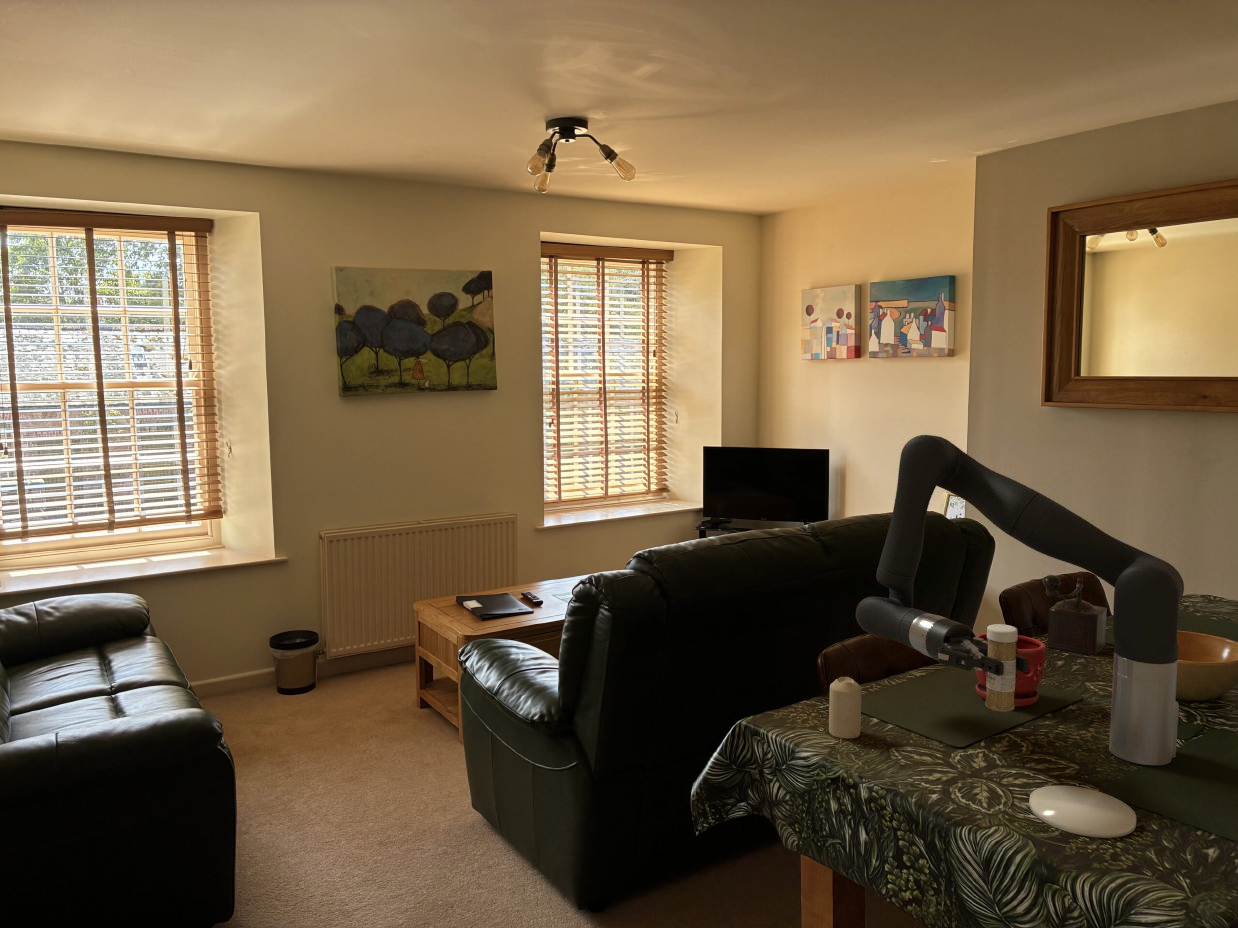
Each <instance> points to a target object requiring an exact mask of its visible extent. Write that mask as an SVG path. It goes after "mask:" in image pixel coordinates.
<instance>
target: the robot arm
mask: <svg viewBox="0 0 1238 928" xmlns="http://www.w3.org/2000/svg"><path fill="white" fill-rule="evenodd" d="M898 466H899V467H898V475H897V476H898V477H897V485H896V492H895V493H896V494H895V498H894V504H893V510H892V514H891V519H890V523H889V527H888V530H887V531H888V532H887V535H886V539H885V542H884V545H883V549H882V552H881V555H880V558H879V562H878V566H877V569H876V574H875V578H876V580H877V582H878V583H879V584H880V585H881V586H884V587H886V588H888V590H889V596H888V597H881V596H868V597H867V596H866V597H865V598H863V599H862V600H861V601H859V603H858V604H857V606H856V609H855V619H856V622H857V623H858V626H859V627H860V628H861V629H862V630H863V631H865V632H866V633H868V634H871V635H874V636H876V637H880V638H884V639H886V640H887V639H888V640H890V641H891V640H892V641H895V642H898V643H900V644H901V643H902V644H903V645H904V646H906V647H909V648H912V649H914V650H916V651H918V652H919V653H921V654H923V655H925V656H927V657H930V658H931V659H933V660H936V661H937V663H939V664H942V665H945V666H950V667H954V668H957V669H960V670H965V671H968V672H969V671H972V670H973V669H974V670H975V669H976V670H979V671H981V670H985V671H987V672H990V673H992V674H994V675H997V676H1002V675H1003V674H1004V664H1003V663H1002V662H1001V661H998V660H996V659H993V658H990V657H988V641H985V640H984V639H982V638H978V637H976V636H977V635H975V633H974V631H973V630H972V629H971V628H970V627H969V626H968V625H966V624H963V623H961V622H958V621H955V620H952V619H950V618H947V617H944V616H941V615H938V614H933V613H930V612H927V611H924V610H921V609H917V608H914V582H915V578H916V574H917V571H918V569H919V565H920V562H921V558H922V553H923V548H924V539H925V526H926V524H925V523H926V518H927V512H928V510H929V509H928V508H929V505H930V501H931V500H932V496H933V494H934V491H935V489H936V488H937V487H938V488H941V489H942V490H945V491H946V492H947V491H948V492H949V493H951V494H953V495H955V496H956V497H958V498H961V499H963V501H966V502H967V503H969V504H970V505H972V506H973V508H975V509H976V510H977V511H979V512H980V513H981V514H982V515H983V516H984V517H985V518H986V519H987V520H989V521H990V522H991V523H992V524H993V525H994V526H995V527H996V528H998V529H1000V530H1001V531H1002V532H1003V533H1005V534H1006V535H1008V536H1010V537H1012V538H1013V539H1015V540H1016V541H1018V542H1019V543H1021V544H1023V545H1024V546H1026V547H1028V548H1029V549H1031V550H1033V551H1035V552H1038V553H1040V554H1042V555H1045V556H1048V557H1050V558H1052V559H1055V560H1058V561H1061V562H1064V563H1068V564H1070V565H1073V566H1076V567H1079V568H1081V569H1083V570H1086V571H1087V572H1089V573H1091V574H1093V575H1094V576H1096V577H1098V578H1099V579H1101V580H1103V581H1104V582H1106V583H1108V584H1109V585H1110V586H1111V587H1113V588H1114V592H1113V607H1112V608H1113V609H1112V610H1113V612H1112V613H1113V614H1112V637H1113V641H1114V642H1113V643H1114V648H1113V649H1114V650H1113V652H1114V653H1113V667H1112V668H1113V669H1112V670H1113V671H1112V690H1111V691H1112V692H1111V707H1110V708H1111V709H1110V727H1109V728H1110V729H1109V740H1108V741H1109V744H1108V745H1109V746H1108V750H1109V752H1110V753H1111V754H1113V756H1115V757H1117V758H1119V759H1121V760H1124V761H1126V762H1130V763H1134V764H1139V765H1143V766H1164V765H1168V764H1170V763H1171V762H1172V760H1173V758H1176V757H1177V742H1178V741H1177V740H1178V724H1179V723H1178V722H1179V706H1180V705H1179V702H1178V701H1176V697H1177V696H1176V694H1177V692H1176V691H1177V676H1178V663H1179V662H1178V658H1179V644H1178V621H1179V619H1178V618H1179V603H1180V601H1181V599H1182V598H1183V596H1184V593H1185V584H1184V583H1185V582H1184V580H1183V577H1182V575H1181V573H1180V572H1179V571H1178V570H1177V568H1175V566H1174V565H1172V564H1170V563H1169V562H1168V561H1166V560H1164V559H1162V558H1159V557H1157V556H1156V555H1152V554H1150V553H1148V552H1146V551H1144V550H1141V549H1138V548H1137V547H1135V546H1133V545H1130V544H1128V543H1125V542H1123V541H1121V540H1120V539H1117V538H1115V537H1113V536H1111V535H1110V534H1108V533H1106V532H1104V531H1103V530H1102V529H1100V528H1099V527H1097V526H1096V525H1094V524H1093V523H1091V522H1089V521H1088V520H1087V519H1084V518H1083V517H1082V516H1080V515H1078V514H1077V513H1075V512H1074V511H1071V510H1070V509H1068V508H1066V507H1065V506H1063V505H1062V504H1060V503H1059V502H1056V501H1055V500H1053V499H1051V498H1050V497H1048V496H1046V495H1045V494H1043V493H1041V492H1039V491H1036V489H1034V488H1033V489H1032V488H1031V487H1029V486H1027V485H1025V484H1024V483H1021V482H1019V481H1017V480H1015V479H1012V478H1010V477H1009V476H1007V475H1003V474H1002V473H999V472H996V471H994V470H993V469H990V468H988V467H987V466H985V465H984V464H982V463H980V462H979V461H978V460H976V459H974V457H972V456H971V455H969V454H967V453H966V452H965V451H963V449H961V448H959V447H958V446H957V445H955V444H954V443H953V442H951V441H949V440H948V439H947V438H944V437H942V436H937V435H932V434H931V435H930V434H921V435H917V436H914V437H911V439H909V440H908V441H907V442H906V443H905V445H904V446H903V448H902V450H901V452H900V459H899V465H898ZM1017 652H1018V648H1016V670H1018V671H1021V672H1027V671H1028V660H1027V659H1026V658H1024V657H1021V656H1019V655H1017Z"/></svg>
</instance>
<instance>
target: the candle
mask: <svg viewBox="0 0 1238 928" xmlns="http://www.w3.org/2000/svg"><path fill="white" fill-rule="evenodd" d="M828 703H829V708H828V713H829V714H828V716H829V717H828V732H829V734H830V735H831V736H834V737H836V738H840V739H847V740H848V739H856V738H859V736H860V735H861V727H862V725H861V724H862V723H861V721H862V720H861V719H862V718H861V717H862V687H861V685H860V684H859V683H857V681H855V680H854V679H853V678H851V677H850V676H840V677H839V678H836V679H835V680H834V681H833V682H831V683H830V685H829V702H828Z"/></svg>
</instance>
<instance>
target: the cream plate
mask: <svg viewBox="0 0 1238 928" xmlns="http://www.w3.org/2000/svg"><path fill="white" fill-rule="evenodd" d="M1028 803H1029V809H1030V811H1031V812H1032V813H1033V815H1034V816H1036V817H1037V818H1038V819H1040V821H1042V822H1044V823H1046V824H1048V825H1049V826H1051V827H1054V828H1057V829H1058V830H1061V831H1065V832H1067V833H1070V834H1074V835H1079V836H1084V837H1088V838H1089V837H1090V838H1091V837H1092V838H1102V839H1111V838H1119V837H1124V836H1128V835H1129V834H1131V833H1133V832H1134V831H1135V830H1136V827H1137V815H1136V812H1135V811H1134V810H1133V809H1132V808H1131V807H1130V806H1129V805H1128V804H1127V803H1125V802H1124V801H1122V800H1120V799H1118V798H1116V797H1114V796H1112V795H1109V794H1106V793H1104V792H1101V791H1097V790H1094V789H1090V788H1086V787H1081V786H1074V785H1061V784H1060V785H1047V786H1042V787H1039V788H1036V789H1035V790H1033V791H1032V792H1031V793H1030V795H1029V802H1028Z"/></svg>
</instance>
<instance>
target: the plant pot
mask: <svg viewBox="0 0 1238 928" xmlns="http://www.w3.org/2000/svg"><path fill="white" fill-rule="evenodd" d="M975 636H976V637H978V638H982V639H984V640H985V641H988V638H987V632H986V633H979V634H977V635H975ZM1046 646H1047V645H1046V644H1045V643H1044V642H1042V641H1041V640H1039V639H1037V638H1032V637H1028V636H1026V635H1025V636H1024V635H1019V634H1018V636H1017V642H1016V648H1018V652H1017V655H1019V656H1021V657H1024V658H1026V659H1027V660H1028V671H1027V672H1021V671H1018V670H1016V675H1015V690H1014V705H1015V707H1025V706H1029V705H1033V704H1035V703H1036V702H1037V701H1038V700H1039V697H1040V693H1039V691H1037V690H1036V689H1037V688H1038V686H1039V684H1040V682H1041V681H1042V679H1043V675H1044V670H1045V664H1046V655H1047V654H1046V653H1047V647H1046ZM974 671H975V675H976V677H977V680H978V682H977V683H976V685H975V691H976V693H977V694H978V696H980V697H981V698H982V699H983V700H985V701H986V677H987V671H985V670H981V671H979V670H976V669H975V668H974Z"/></svg>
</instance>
